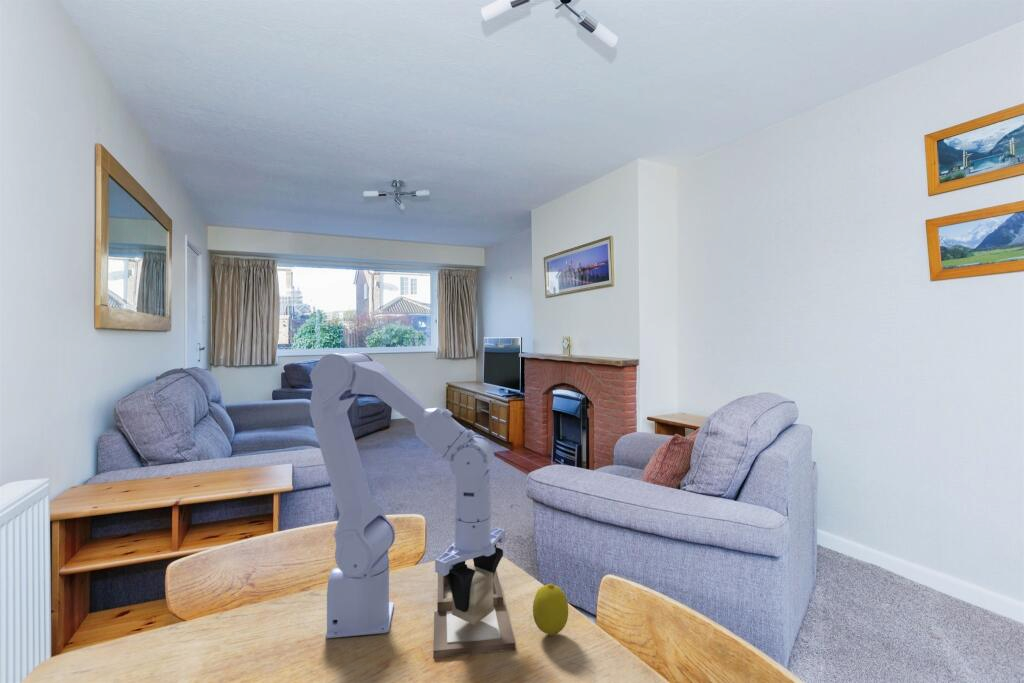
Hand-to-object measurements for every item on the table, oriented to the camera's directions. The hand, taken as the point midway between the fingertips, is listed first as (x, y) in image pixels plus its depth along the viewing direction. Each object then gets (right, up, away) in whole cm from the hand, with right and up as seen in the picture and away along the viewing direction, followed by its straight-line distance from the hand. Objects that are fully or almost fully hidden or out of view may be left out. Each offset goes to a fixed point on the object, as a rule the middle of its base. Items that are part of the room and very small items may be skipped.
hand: (472, 601), depth 73 cm
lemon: (+12, -5, -1) cm, 13 cm away
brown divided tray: (-1, -5, +5) cm, 7 cm away
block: (0, -2, 0) cm, 2 cm away
